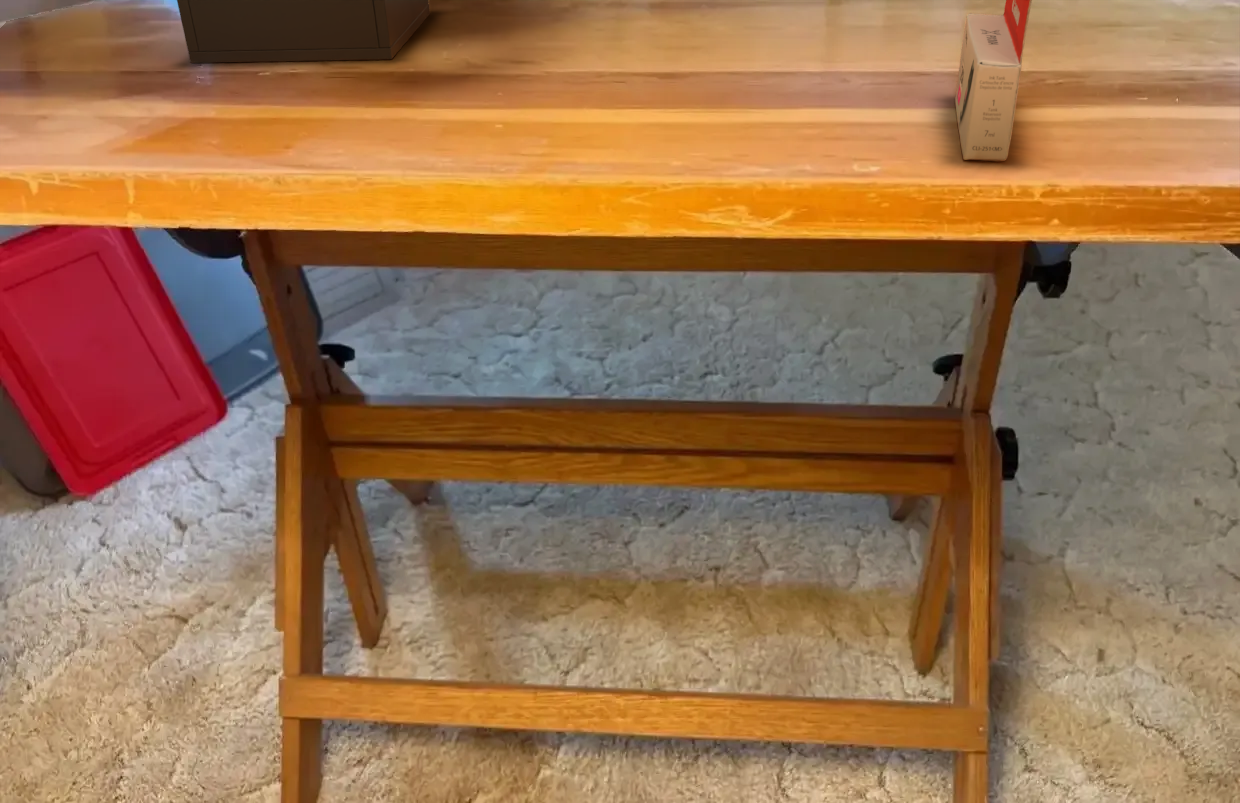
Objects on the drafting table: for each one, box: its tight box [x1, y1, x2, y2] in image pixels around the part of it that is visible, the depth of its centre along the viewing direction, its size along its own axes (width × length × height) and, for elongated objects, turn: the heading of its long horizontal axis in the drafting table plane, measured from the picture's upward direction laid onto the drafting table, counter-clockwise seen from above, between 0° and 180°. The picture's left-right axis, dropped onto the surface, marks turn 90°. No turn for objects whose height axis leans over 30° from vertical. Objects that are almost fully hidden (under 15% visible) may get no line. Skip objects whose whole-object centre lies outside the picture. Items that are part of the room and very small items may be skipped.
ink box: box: [954, 0, 1033, 162], centre depth 61 cm, size 2×11×10 cm, turn 168°
